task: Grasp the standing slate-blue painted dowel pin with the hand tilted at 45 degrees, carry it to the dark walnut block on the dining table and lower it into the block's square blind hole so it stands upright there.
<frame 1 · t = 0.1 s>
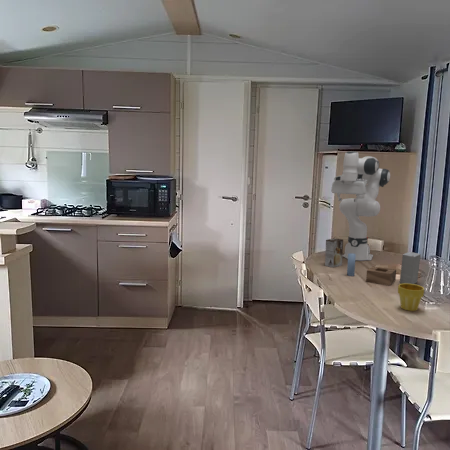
hand: (347, 201, 258), 39 cm above the table, tool pointing down, fingers open, 8 cm apart
coffee box: (333, 265, 263), on the table
socket block: (380, 281, 230), on the table
skincare box: (409, 283, 227), on the table
pin: (350, 275, 241), on the table
plant pot: (409, 308, 187), on the table
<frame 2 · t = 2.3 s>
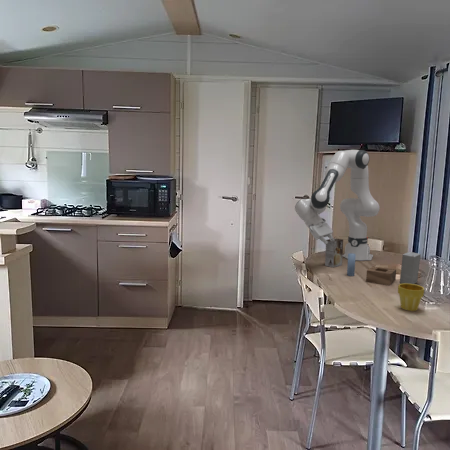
hand: (330, 242, 245), 17 cm above the table, tool tilted 45°, fingers open, 8 cm apart
nothing on the table moved.
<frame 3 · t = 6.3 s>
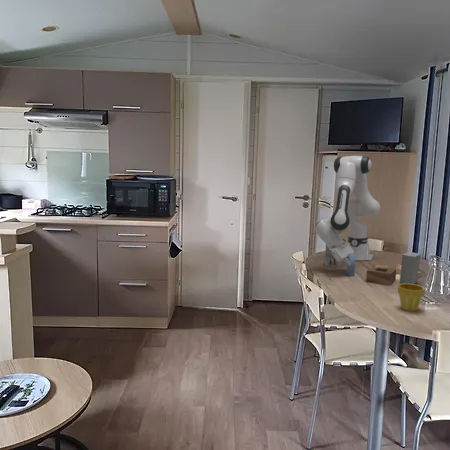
hand: (352, 264, 240), 6 cm above the table, tool tilted 45°, fingers closed on pin, 4 cm apart
pin: (350, 275, 241), on the table, touching gripper
everything else where it was.
when the fingers open (11 cm above the table, at t = 12.0 s): pin drops 4 cm, resting on socket block.
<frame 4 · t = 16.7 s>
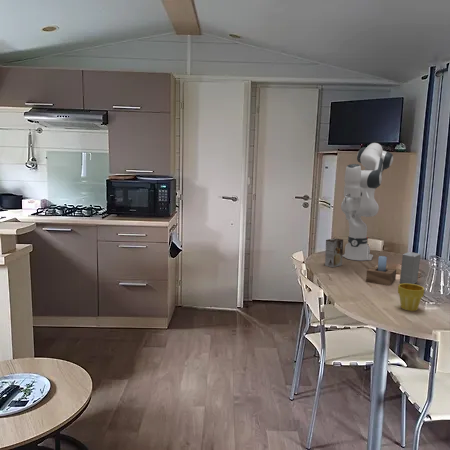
hand: (350, 218, 241), 31 cm above the table, tool pointing down, fingers open, 8 cm apart
pin: (381, 279, 230), point 1 cm above the table, touching socket block
everything else where it was.
at the end: pin 0.2 cm off-centre on the socket block, point 1.0 cm above the socket block's base; pin tilted 1°; the gripper is holding nothing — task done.
